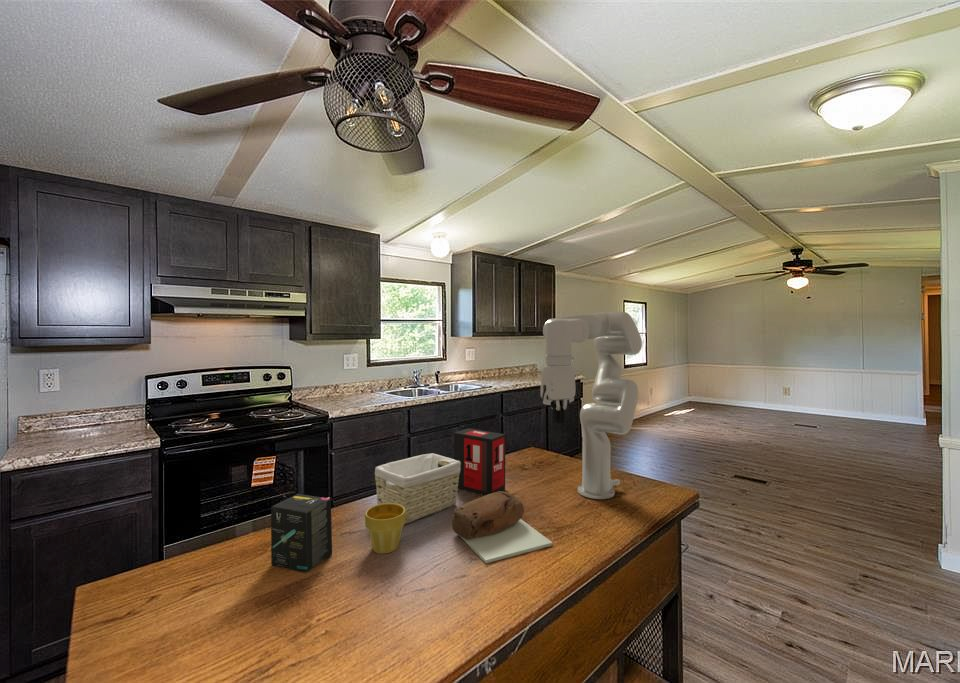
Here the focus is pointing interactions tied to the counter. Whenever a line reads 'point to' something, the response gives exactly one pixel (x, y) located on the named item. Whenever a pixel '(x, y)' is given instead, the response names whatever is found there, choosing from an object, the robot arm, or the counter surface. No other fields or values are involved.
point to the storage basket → (419, 484)
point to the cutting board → (508, 542)
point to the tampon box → (301, 532)
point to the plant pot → (385, 526)
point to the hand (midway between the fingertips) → (559, 422)
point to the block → (487, 515)
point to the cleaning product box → (480, 460)
